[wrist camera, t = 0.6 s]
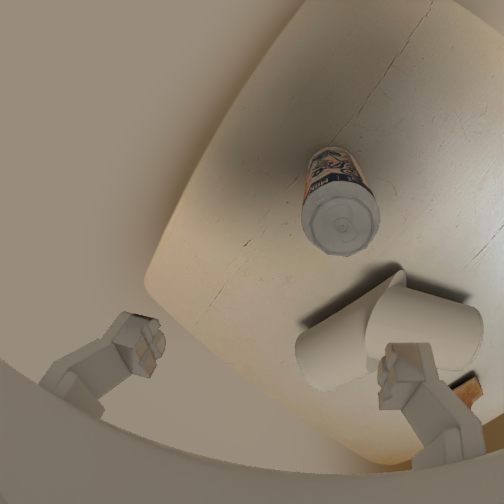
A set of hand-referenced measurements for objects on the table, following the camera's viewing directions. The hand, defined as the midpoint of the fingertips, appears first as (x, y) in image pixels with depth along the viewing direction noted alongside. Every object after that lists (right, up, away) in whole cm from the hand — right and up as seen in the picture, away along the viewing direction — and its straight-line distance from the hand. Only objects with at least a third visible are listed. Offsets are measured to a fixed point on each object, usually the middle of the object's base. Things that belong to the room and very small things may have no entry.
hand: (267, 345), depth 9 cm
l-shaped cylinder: (+18, -5, +23) cm, 30 cm away
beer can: (+7, +11, +16) cm, 21 cm away
